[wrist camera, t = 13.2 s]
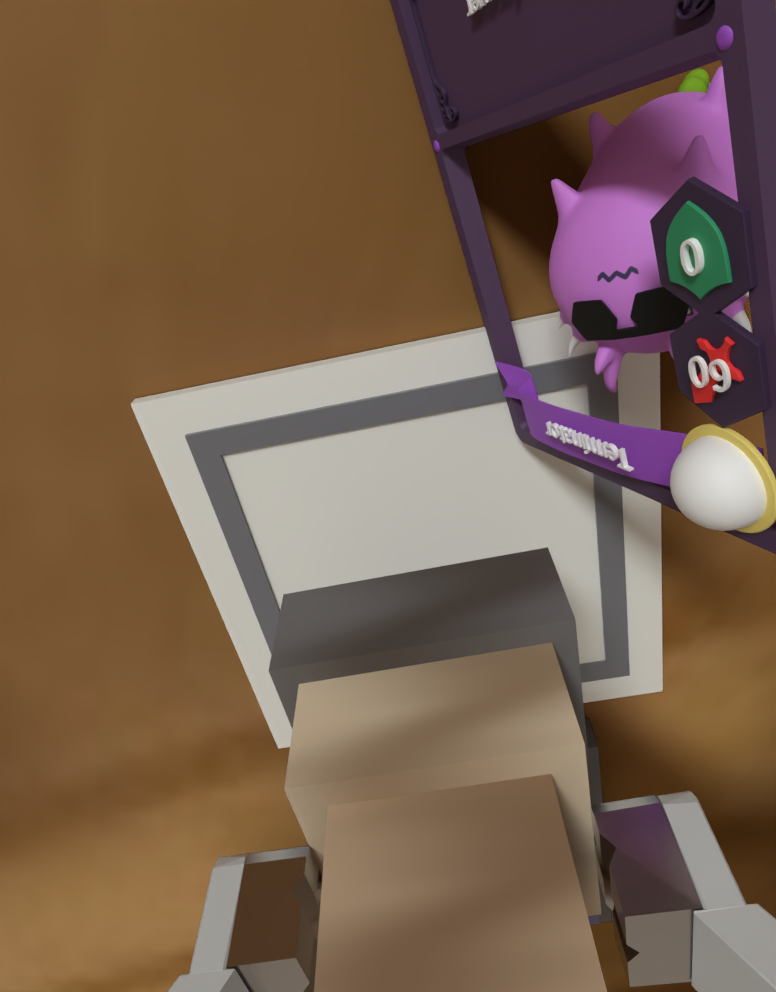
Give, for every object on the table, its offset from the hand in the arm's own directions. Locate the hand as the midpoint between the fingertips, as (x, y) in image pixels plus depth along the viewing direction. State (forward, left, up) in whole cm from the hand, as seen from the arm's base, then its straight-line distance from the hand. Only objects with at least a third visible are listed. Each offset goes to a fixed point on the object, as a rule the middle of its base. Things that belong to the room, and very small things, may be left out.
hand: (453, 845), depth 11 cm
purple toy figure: (-4, -8, -7) cm, 12 cm away
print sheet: (0, 0, -7) cm, 7 cm away
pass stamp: (0, 0, -4) cm, 4 cm away
